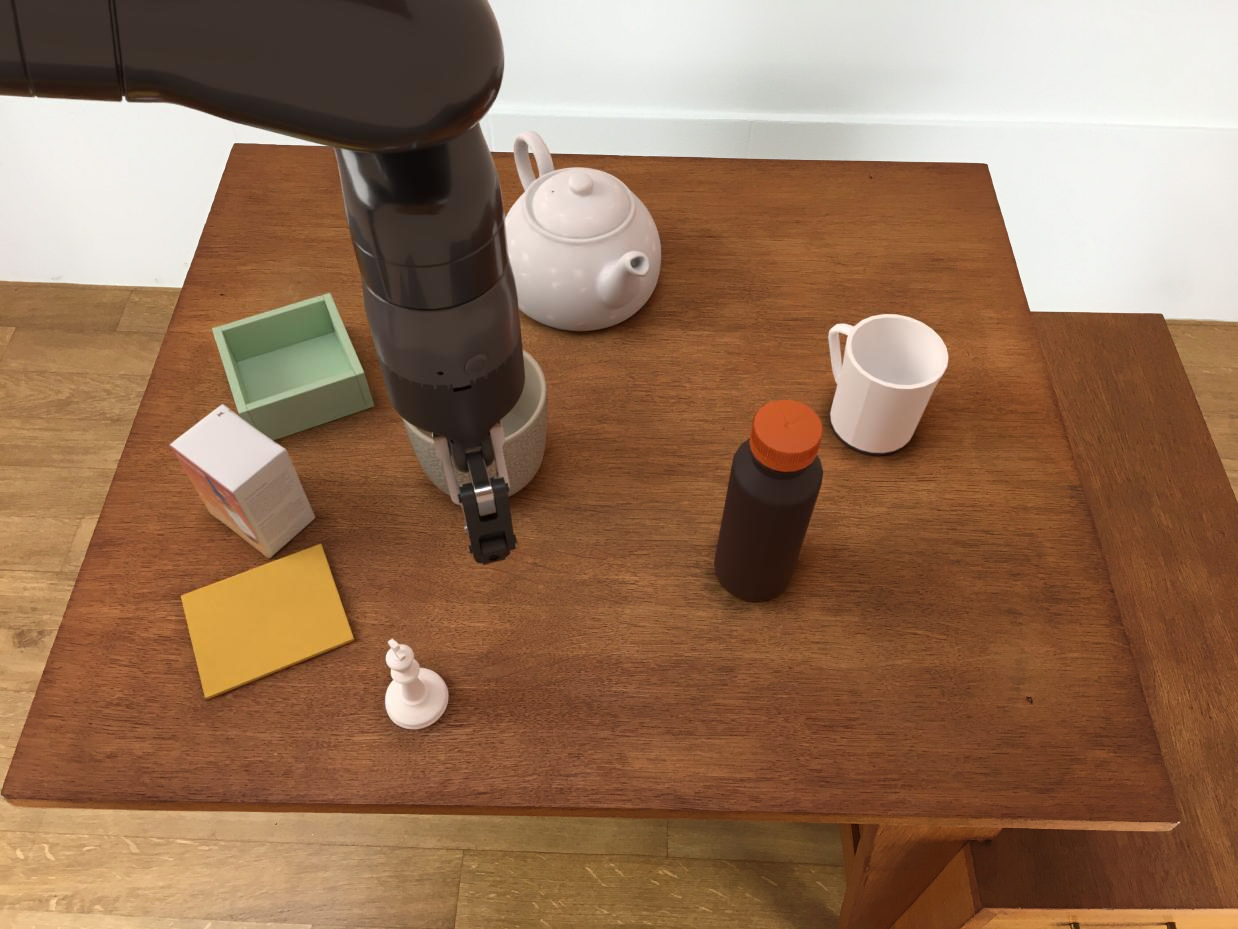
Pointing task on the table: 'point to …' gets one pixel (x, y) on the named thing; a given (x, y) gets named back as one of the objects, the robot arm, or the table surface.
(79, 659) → the table surface
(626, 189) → the teapot
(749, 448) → the bottle
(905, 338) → the mug
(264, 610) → the ochre mat
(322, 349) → the sage bin
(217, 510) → the small box
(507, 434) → the planter
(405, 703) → the chess piece
